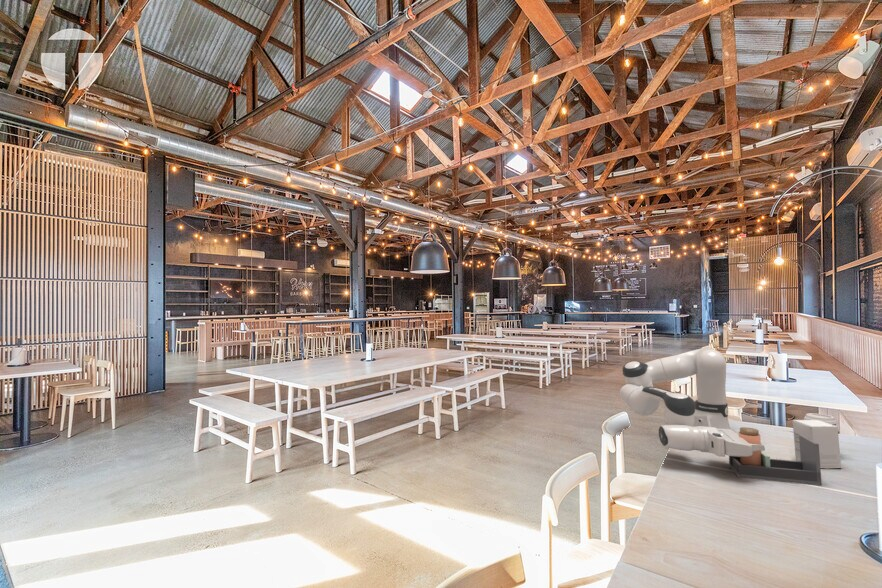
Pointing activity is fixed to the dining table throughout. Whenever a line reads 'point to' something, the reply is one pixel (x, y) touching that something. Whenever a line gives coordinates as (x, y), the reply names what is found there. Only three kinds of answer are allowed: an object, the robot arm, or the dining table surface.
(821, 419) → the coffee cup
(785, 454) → the dining table surface
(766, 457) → the pusher plate
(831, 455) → the supplement box
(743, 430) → the jar
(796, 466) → the tray
